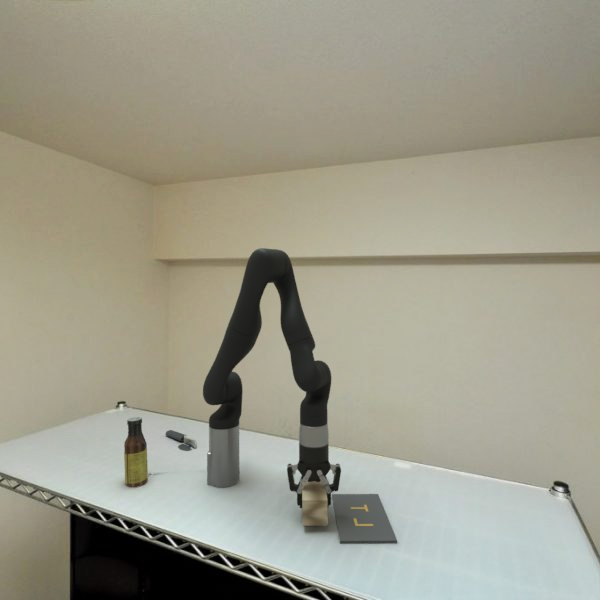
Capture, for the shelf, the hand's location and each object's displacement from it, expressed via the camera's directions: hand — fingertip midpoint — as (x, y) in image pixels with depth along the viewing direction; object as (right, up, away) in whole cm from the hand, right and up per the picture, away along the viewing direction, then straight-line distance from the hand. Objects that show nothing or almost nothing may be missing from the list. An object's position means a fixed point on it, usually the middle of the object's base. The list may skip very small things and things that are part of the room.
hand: (314, 506), depth 92 cm
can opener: (-49, -4, +45) cm, 67 cm away
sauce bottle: (-53, -3, +17) cm, 56 cm away
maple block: (0, -1, 0) cm, 1 cm away
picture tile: (+12, -3, 0) cm, 12 cm away
